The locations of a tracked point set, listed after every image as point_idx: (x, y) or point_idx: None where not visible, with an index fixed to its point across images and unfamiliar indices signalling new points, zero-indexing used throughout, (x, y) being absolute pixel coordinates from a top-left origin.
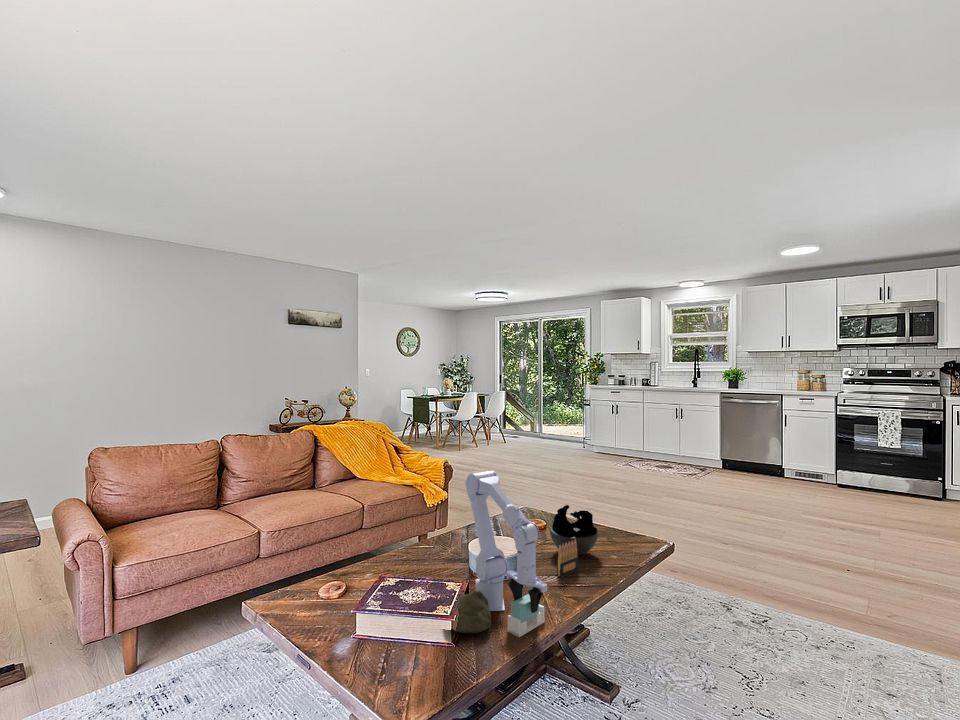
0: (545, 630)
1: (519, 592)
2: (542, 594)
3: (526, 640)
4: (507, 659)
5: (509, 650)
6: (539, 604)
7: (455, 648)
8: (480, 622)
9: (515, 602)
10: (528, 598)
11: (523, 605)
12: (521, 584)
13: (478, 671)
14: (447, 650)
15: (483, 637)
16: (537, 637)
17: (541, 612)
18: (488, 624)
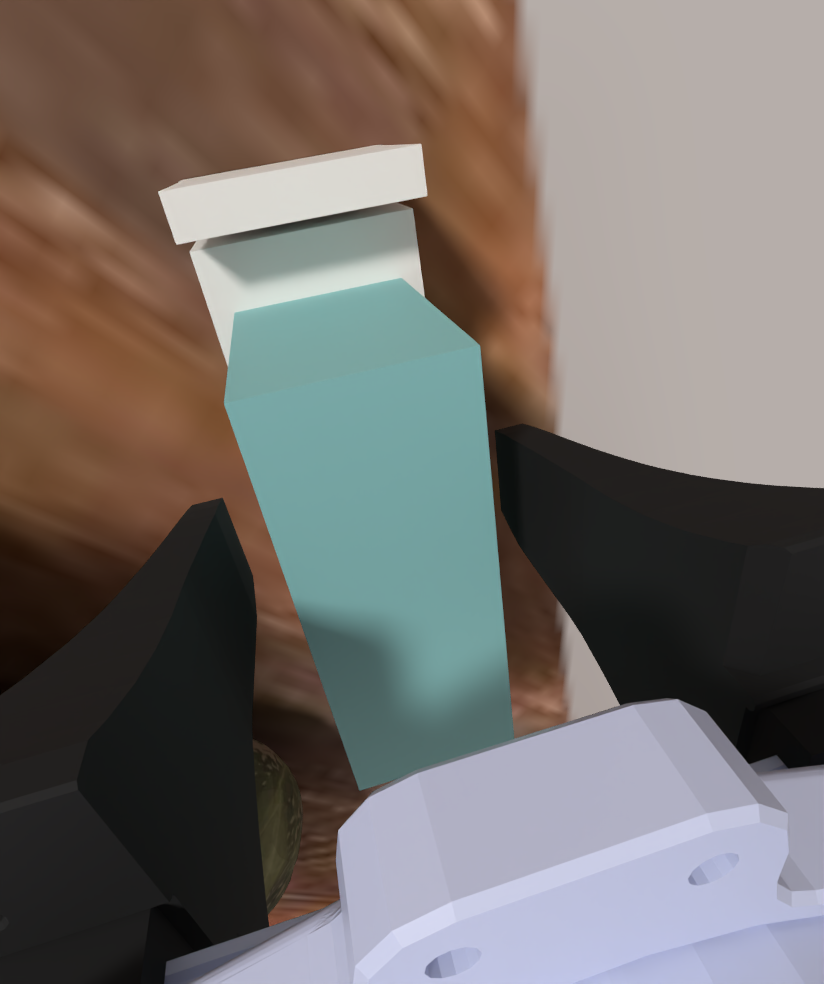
0: (509, 281)
1: (214, 671)
2: (770, 492)
3: (506, 523)
4: (567, 702)
5: (513, 664)
6: (309, 164)
7: (301, 866)
8: (286, 870)
9: (386, 748)
10: (406, 551)
11: (506, 686)
12: (172, 766)
13: None
14: (295, 893)
15: (282, 736)
16: (537, 427)
17: (414, 229)
18: (287, 787)
